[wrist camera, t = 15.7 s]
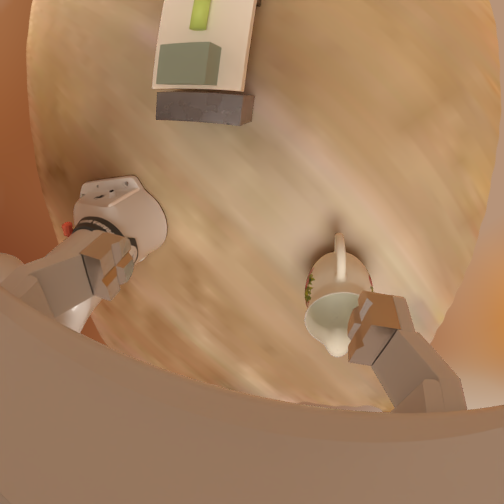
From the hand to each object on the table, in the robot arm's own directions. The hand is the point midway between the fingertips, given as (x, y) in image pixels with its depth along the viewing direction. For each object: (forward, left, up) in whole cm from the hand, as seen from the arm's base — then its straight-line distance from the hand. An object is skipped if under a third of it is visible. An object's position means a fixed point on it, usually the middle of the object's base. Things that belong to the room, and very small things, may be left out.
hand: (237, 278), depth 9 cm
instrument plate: (-13, +15, -27) cm, 34 cm away
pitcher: (+11, -20, -34) cm, 41 cm away
